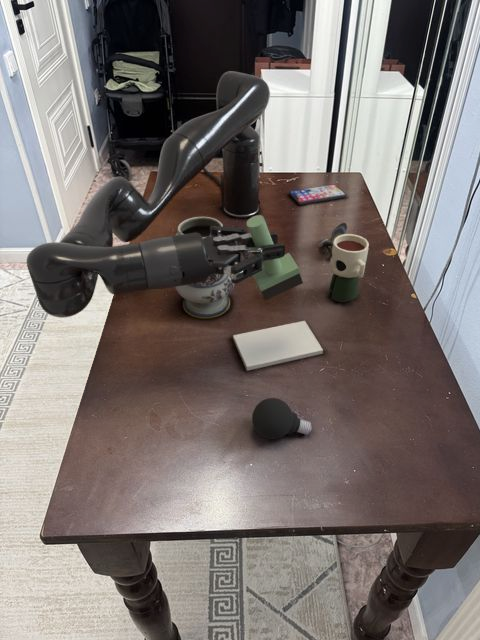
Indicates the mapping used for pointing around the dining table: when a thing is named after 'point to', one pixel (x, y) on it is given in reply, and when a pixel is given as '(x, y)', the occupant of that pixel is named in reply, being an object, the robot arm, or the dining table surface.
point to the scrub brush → (272, 263)
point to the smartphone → (317, 194)
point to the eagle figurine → (329, 242)
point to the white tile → (276, 345)
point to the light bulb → (277, 419)
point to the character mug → (347, 266)
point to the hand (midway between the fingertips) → (279, 244)
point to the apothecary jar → (211, 293)
